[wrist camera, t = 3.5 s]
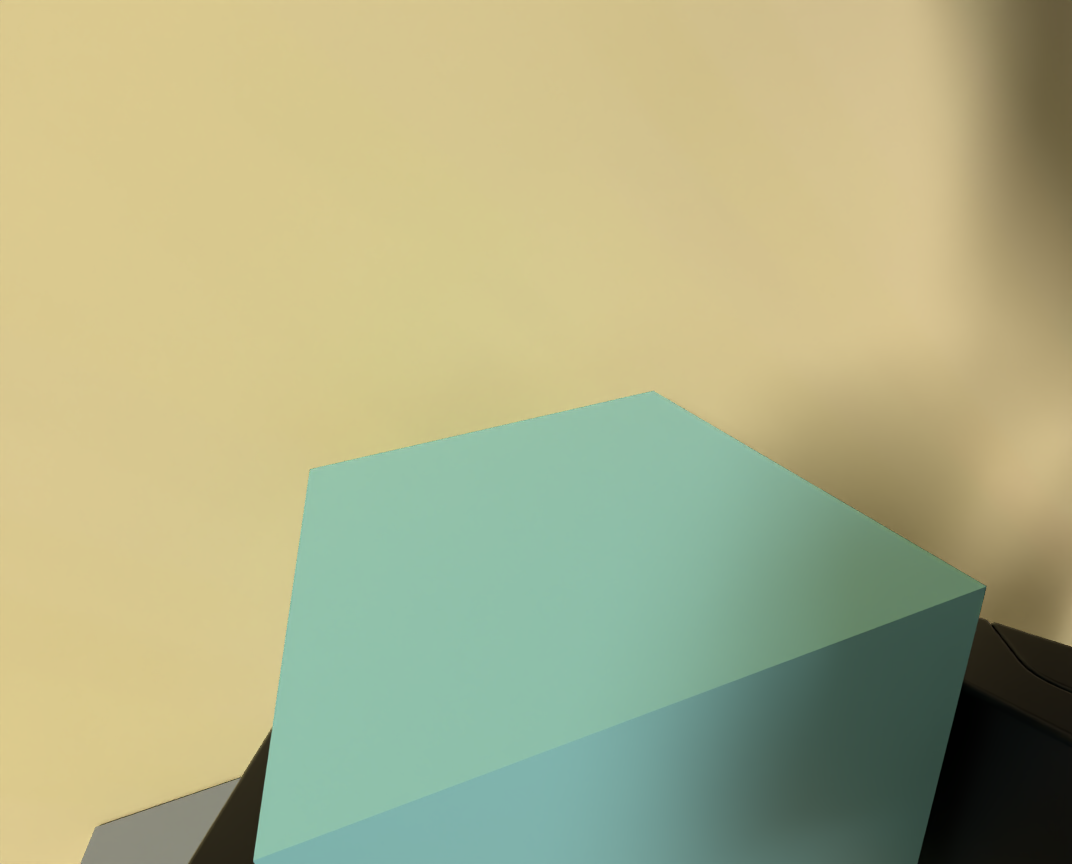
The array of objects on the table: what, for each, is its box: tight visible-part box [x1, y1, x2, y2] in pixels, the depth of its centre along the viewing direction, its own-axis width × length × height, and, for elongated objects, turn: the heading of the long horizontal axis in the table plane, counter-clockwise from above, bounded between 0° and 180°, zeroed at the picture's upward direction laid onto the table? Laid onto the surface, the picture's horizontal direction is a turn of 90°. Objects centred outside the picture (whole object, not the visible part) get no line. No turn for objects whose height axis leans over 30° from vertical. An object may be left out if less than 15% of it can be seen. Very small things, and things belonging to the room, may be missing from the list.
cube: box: [253, 391, 987, 864], centre depth 7 cm, size 5×5×5 cm
